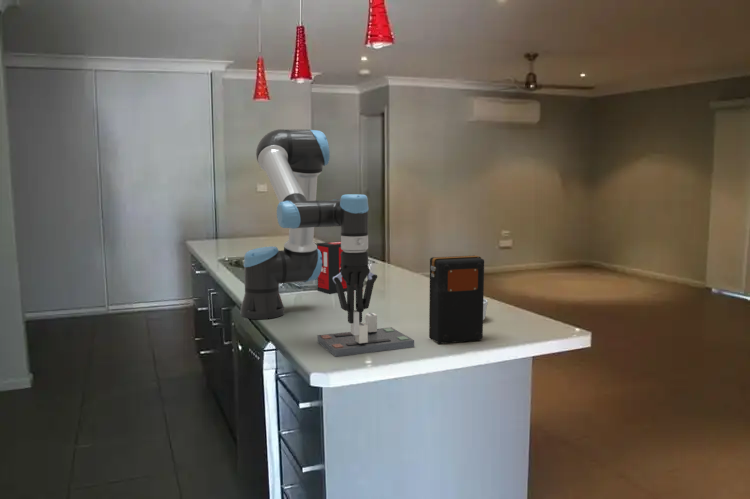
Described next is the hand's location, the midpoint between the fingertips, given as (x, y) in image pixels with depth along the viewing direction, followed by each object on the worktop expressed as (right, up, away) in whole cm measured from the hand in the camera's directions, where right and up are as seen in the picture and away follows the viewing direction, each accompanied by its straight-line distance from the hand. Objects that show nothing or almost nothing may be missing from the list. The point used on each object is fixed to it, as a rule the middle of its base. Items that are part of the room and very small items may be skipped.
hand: (355, 333), depth 178 cm
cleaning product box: (-9, +6, +88) cm, 89 cm away
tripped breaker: (+2, -2, +1) cm, 3 cm away
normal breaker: (+4, -1, +13) cm, 14 cm away
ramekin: (+37, 0, +37) cm, 52 cm away
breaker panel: (+3, -4, +7) cm, 9 cm away
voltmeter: (+30, -4, +12) cm, 33 cm away
